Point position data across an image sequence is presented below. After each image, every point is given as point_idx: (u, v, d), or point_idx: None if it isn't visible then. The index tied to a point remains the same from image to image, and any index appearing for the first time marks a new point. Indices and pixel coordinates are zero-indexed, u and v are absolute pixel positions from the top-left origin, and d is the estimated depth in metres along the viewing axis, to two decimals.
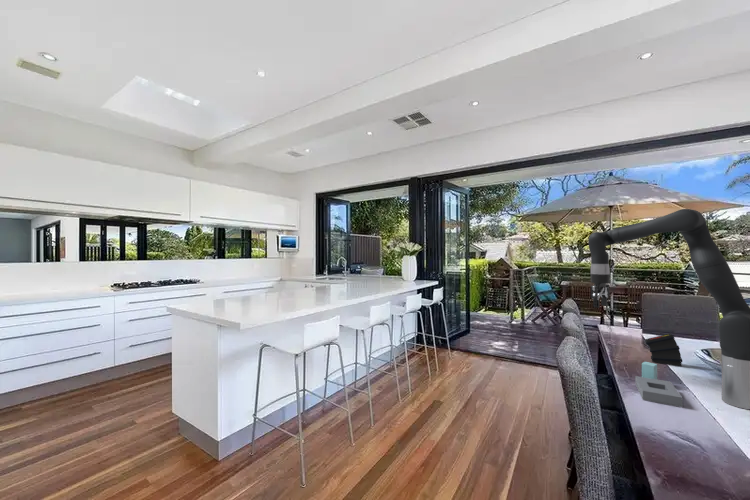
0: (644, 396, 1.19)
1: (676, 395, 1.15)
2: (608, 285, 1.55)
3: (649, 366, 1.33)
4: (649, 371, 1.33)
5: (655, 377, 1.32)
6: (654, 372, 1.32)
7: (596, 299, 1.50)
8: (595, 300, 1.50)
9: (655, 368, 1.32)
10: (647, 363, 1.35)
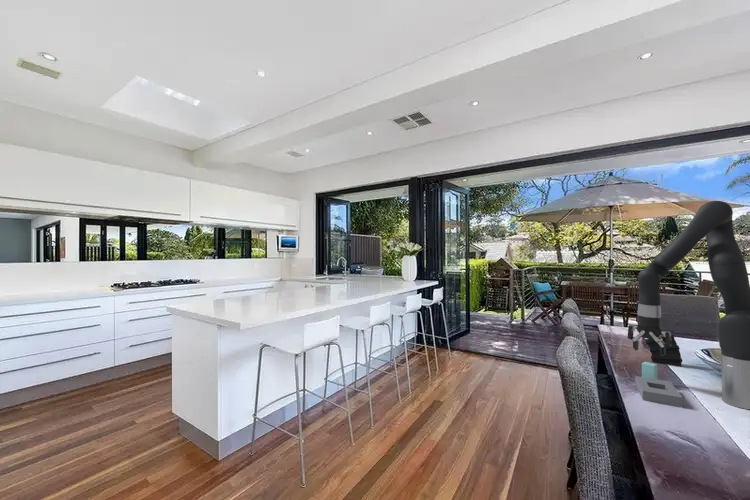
0: (644, 396, 1.19)
1: (676, 395, 1.15)
2: (632, 326, 1.40)
3: (649, 366, 1.33)
4: (649, 371, 1.33)
5: (655, 377, 1.32)
6: (654, 372, 1.32)
7: (666, 346, 1.30)
8: (665, 348, 1.30)
9: (655, 368, 1.32)
10: (647, 363, 1.35)
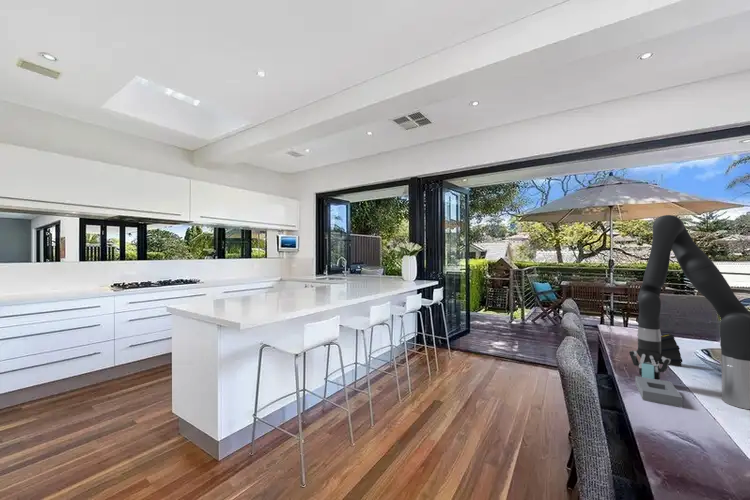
0: (644, 396, 1.19)
1: (676, 395, 1.15)
2: None
3: (649, 366, 1.33)
4: (649, 371, 1.33)
5: None
6: (654, 372, 1.32)
7: (660, 371, 1.32)
8: (659, 373, 1.31)
9: None
10: (648, 363, 1.35)
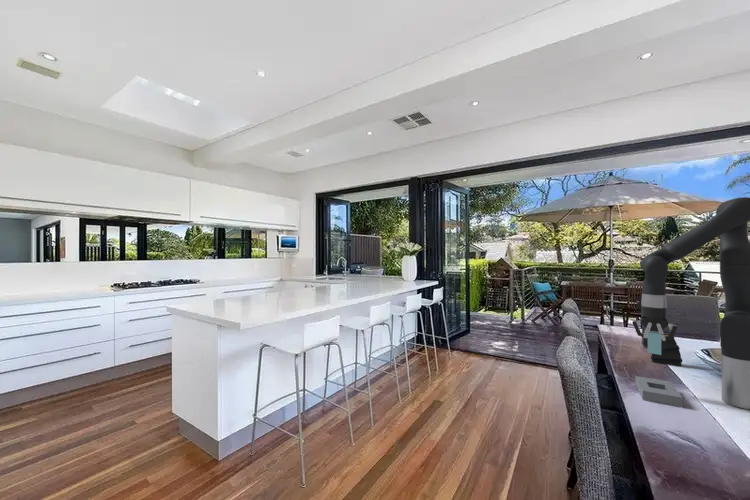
0: (644, 396, 1.19)
1: (676, 395, 1.15)
2: None
3: (656, 335, 1.24)
4: (656, 341, 1.24)
5: None
6: None
7: (666, 339, 1.24)
8: None
9: (660, 337, 1.25)
10: (652, 332, 1.26)
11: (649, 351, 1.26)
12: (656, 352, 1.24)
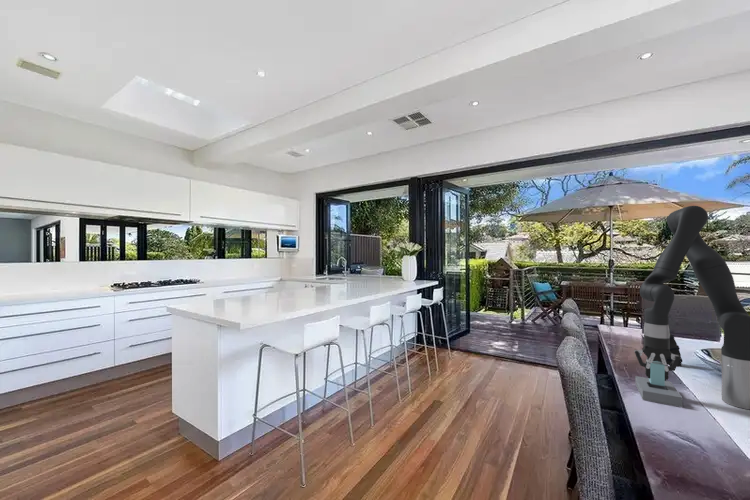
0: (644, 396, 1.19)
1: (676, 395, 1.15)
2: None
3: (659, 366, 1.21)
4: (659, 372, 1.21)
5: None
6: None
7: None
8: (667, 371, 1.21)
9: None
10: (655, 362, 1.23)
11: (652, 382, 1.22)
12: (660, 383, 1.21)
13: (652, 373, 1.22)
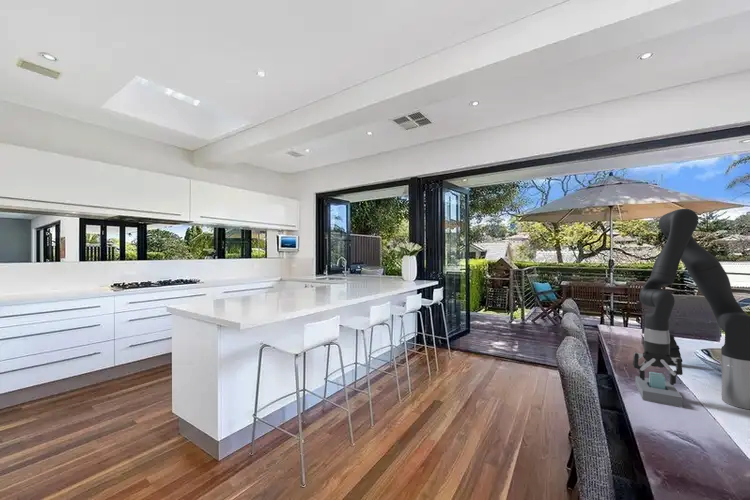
0: (644, 396, 1.19)
1: (676, 395, 1.15)
2: None
3: (660, 378, 1.21)
4: (660, 384, 1.21)
5: None
6: (664, 383, 1.21)
7: None
8: None
9: None
10: (655, 374, 1.23)
11: None
12: None
13: (653, 385, 1.22)
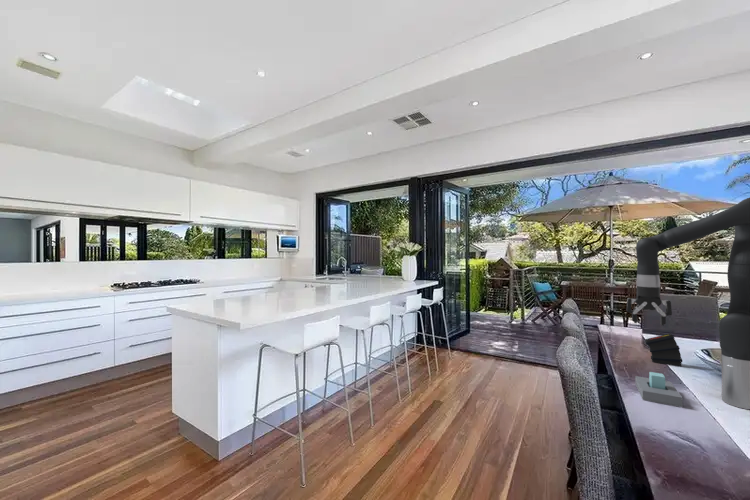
0: (644, 396, 1.19)
1: (676, 395, 1.15)
2: None
3: (660, 378, 1.21)
4: (660, 384, 1.21)
5: None
6: (664, 383, 1.21)
7: (665, 315, 1.30)
8: None
9: None
10: (655, 374, 1.23)
11: None
12: None
13: (653, 385, 1.22)
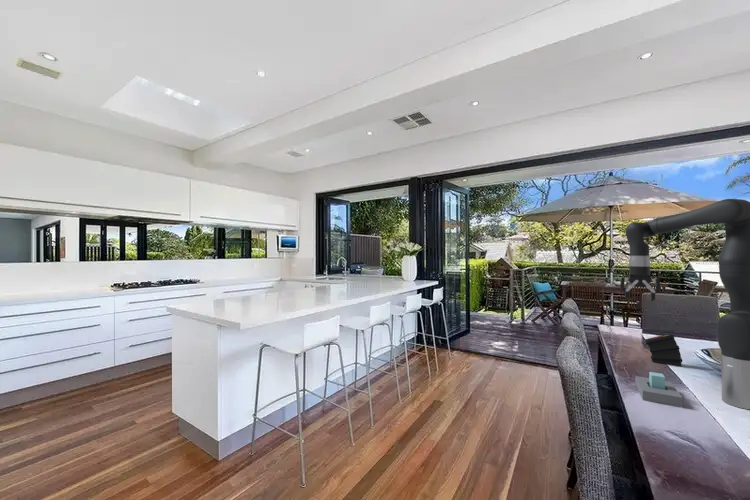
0: (644, 396, 1.19)
1: (676, 395, 1.15)
2: (622, 278, 1.51)
3: (660, 378, 1.21)
4: (660, 384, 1.21)
5: None
6: (664, 383, 1.21)
7: None
8: (654, 293, 1.44)
9: None
10: (655, 374, 1.23)
11: None
12: None
13: (653, 385, 1.22)
